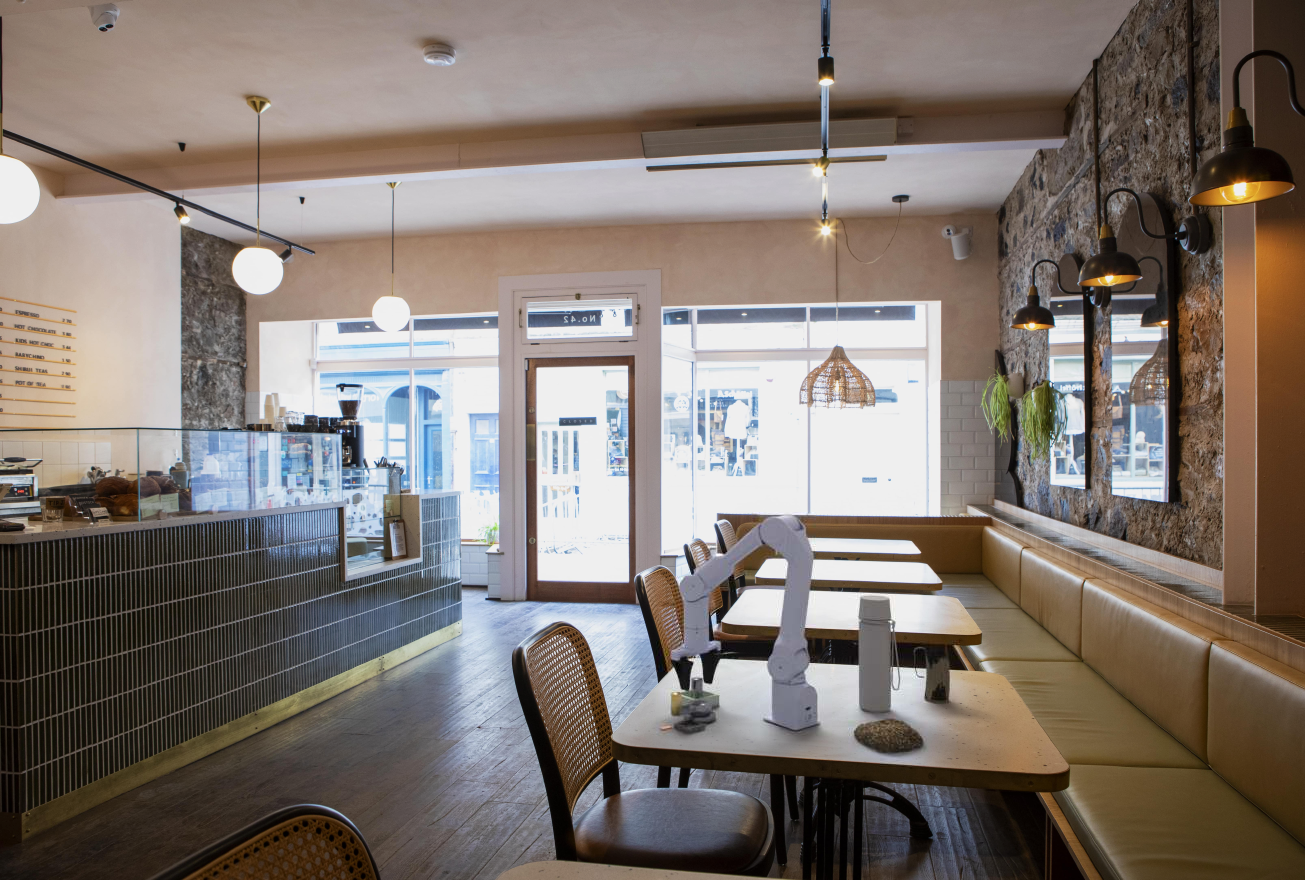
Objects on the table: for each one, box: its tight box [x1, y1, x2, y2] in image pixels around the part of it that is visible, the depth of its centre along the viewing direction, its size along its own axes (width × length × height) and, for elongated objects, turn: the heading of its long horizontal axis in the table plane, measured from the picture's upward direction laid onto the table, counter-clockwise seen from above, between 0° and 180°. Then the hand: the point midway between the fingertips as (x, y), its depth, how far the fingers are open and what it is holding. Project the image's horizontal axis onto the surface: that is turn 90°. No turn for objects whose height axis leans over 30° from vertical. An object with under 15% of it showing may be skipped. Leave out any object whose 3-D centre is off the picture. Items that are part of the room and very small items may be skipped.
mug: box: [913, 646, 951, 704], centre depth 197 cm, size 8×6×12 cm
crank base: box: [659, 710, 717, 735], centre depth 180 cm, size 9×14×1 cm, turn 128°
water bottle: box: [857, 594, 901, 714], centre depth 190 cm, size 9×8×25 cm
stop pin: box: [690, 676, 704, 699], centre depth 193 cm, size 3×3×6 cm
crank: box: [670, 691, 712, 717], centre depth 181 cm, size 11×5×6 cm, turn 131°
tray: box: [679, 688, 720, 709], centre depth 193 cm, size 7×7×2 cm
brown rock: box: [853, 717, 924, 754], centre depth 169 cm, size 13×12×5 cm
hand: (696, 686), depth 193 cm, fingers open, 7 cm apart
